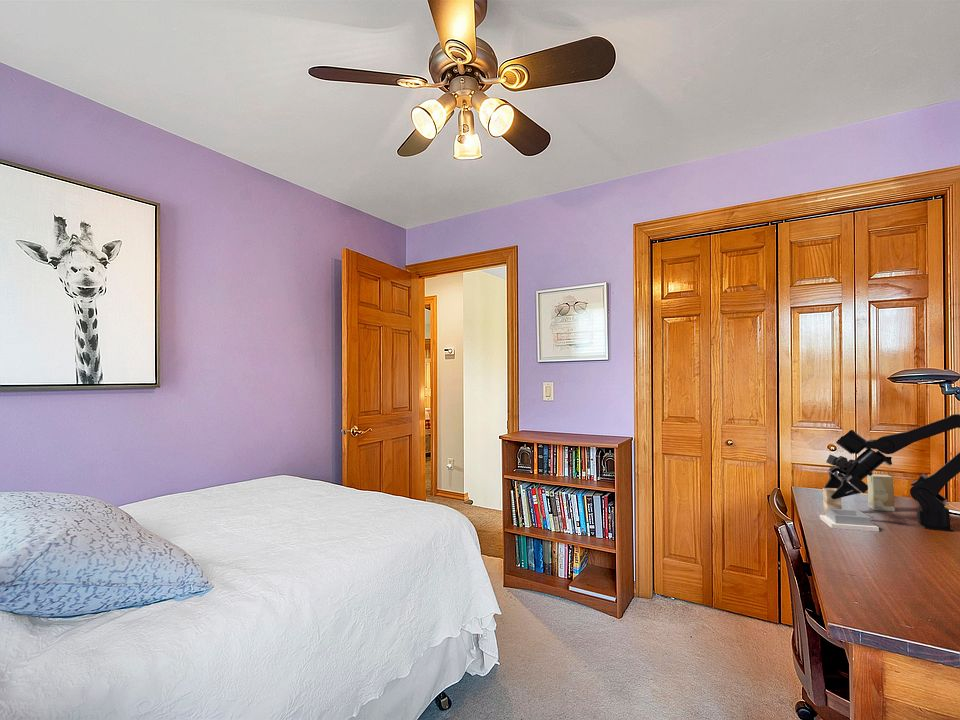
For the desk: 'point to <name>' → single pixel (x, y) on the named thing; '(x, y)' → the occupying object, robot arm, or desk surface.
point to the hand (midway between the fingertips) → (827, 495)
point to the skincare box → (880, 492)
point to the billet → (830, 499)
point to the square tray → (848, 520)
